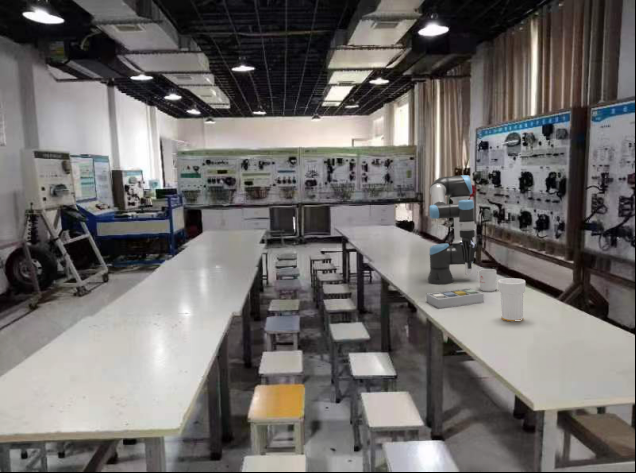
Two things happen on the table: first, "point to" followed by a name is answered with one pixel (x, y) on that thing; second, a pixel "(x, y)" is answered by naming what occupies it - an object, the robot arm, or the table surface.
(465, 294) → the key mustard
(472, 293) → the key sage
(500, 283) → the cup
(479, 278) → the mug
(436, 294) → the key ivory
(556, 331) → the table surface
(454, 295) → the key slate
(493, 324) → the table surface
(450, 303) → the keypad
